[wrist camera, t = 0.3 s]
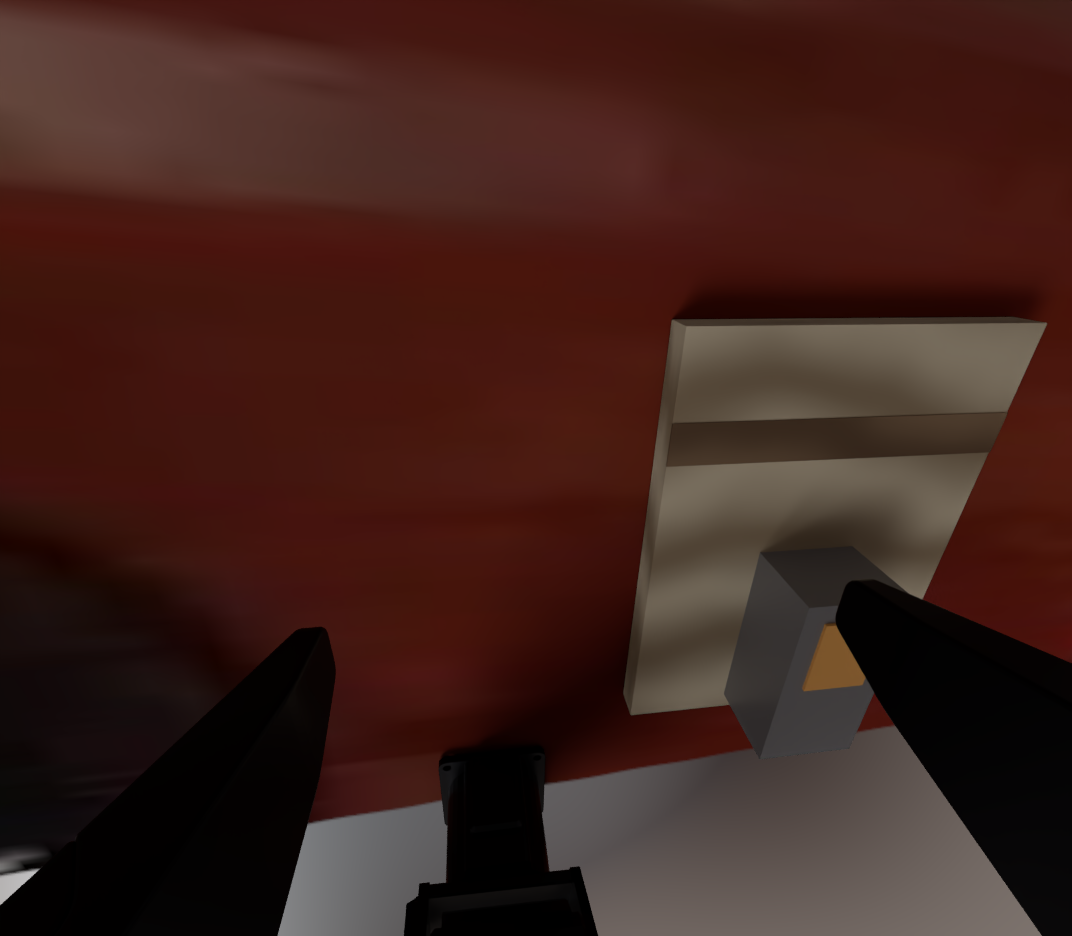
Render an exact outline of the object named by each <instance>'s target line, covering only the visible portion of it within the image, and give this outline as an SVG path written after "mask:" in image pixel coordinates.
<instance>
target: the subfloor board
mask: <svg viewBox="0 0 1072 936" xmlns="http://www.w3.org/2000/svg"><path fill="white" fill-rule="evenodd" d="M1046 325H1047V323H1045V322H1039V321H1034V320H1028V319H1022V318H1017V317H926V318H797V319H672V324H671V331H670V339H669V347H668V354H667V362H666V370H665V377H664V385H663V393H662V400H661V408H660V416H659V423H658V431H657V439H656V446H655V454H654V461H653V469H652V477H651V484H650V492H649V500H648V507H647V515H646V523H645V530H644V538H643V546H642V553H641V561H640V569H639V576H638V584H637V592H636V599H635V607H634V615H633V622H632V630H631V637H630V645H629V653H628V660H627V668H626V676H625V683H624V691H623V694H624V697H625V700H626V703H627V706H628V709H629V712H630V715H637V714H647V713H656V712H666V711H675V710H684V709H694V708H703V707H712V706H722V705H730V704H729V703H728V701H727V699H726V697H725V695H724V691H725V687H726V683H727V679H728V675H729V671H730V667H731V663H732V659H733V656H734V652H735V648H736V644H737V640H738V636H739V632H740V628H741V624H742V621H743V617H744V613H745V609H746V605H747V601H748V597H749V593H750V589H751V585H752V582H753V578H754V574H755V570H756V566H757V562H758V558H759V554H760V552H774V551H789V550H804V549H818V548H833V547H848V546H853V547H854V548H855V549H856V550H858V551H859V552H860V553H861V554H862V555H864V556H865V557H866V558H867V559H868V560H869V561H871V562H872V563H873V564H874V565H875V566H877V567H878V568H879V569H880V570H881V571H883V572H884V573H885V574H886V575H887V576H889V577H890V578H891V579H892V580H893V581H894V582H896V583H897V584H898V585H899V586H900V587H902V588H903V589H904V590H905V591H906V592H908V593H909V594H911V595H913V596H915V597H918V598H920V599H923V597H924V594H925V592H926V590H927V588H928V585H929V583H930V581H931V579H932V577H933V574H934V572H935V570H936V568H937V566H938V563H939V561H940V559H941V557H942V555H943V552H944V550H945V548H946V546H947V543H948V541H949V539H950V537H951V535H952V532H953V530H954V528H955V526H956V524H957V521H958V519H959V517H960V515H961V513H962V510H963V508H964V506H965V504H966V501H967V499H968V497H969V495H970V493H971V490H972V488H973V486H974V484H975V482H976V479H977V477H978V475H979V473H980V471H981V468H982V466H983V464H984V462H985V459H986V457H987V455H988V453H989V452H990V451H991V449H992V447H993V444H994V442H995V440H996V438H997V436H998V433H999V431H1000V429H1001V427H1002V425H1003V422H1004V420H1005V418H1006V416H1007V414H1008V413H1007V411H1008V409H1009V406H1010V404H1011V402H1012V400H1013V398H1014V395H1015V393H1016V391H1017V389H1018V387H1019V384H1020V382H1021V380H1022V378H1023V375H1024V373H1025V371H1026V369H1027V367H1028V364H1029V362H1030V360H1031V358H1032V356H1033V353H1034V351H1035V349H1036V347H1037V344H1038V342H1039V340H1040V338H1041V336H1042V333H1043V331H1044V329H1045V327H1046Z"/></svg>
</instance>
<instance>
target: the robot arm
mask: <svg viewBox="0 0 1072 936" xmlns="http://www.w3.org/2000/svg"><path fill="white" fill-rule="evenodd" d="M835 621H836V626H837V629H838V631H839V632H840V634H841V636H842V638H843V639H844V641H845V643H846V645H847V646H848V648H849V650H850V651H851V653H852V655H853V657H854V658H855V660H856V662H857V664H858V665H859V667H860V669H861V671H862V672H863V674H864V676H865V677H866V679H867V681H868V683H869V684H870V686H871V688H872V690H873V691H874V693H875V695H876V697H877V698H878V700H879V701H880V703H881V705H882V706H883V708H884V710H885V711H886V713H887V714H888V716H889V717H890V719H891V720H892V722H893V723H894V725H895V726H896V727H897V729H898V730H899V732H900V733H901V735H902V736H903V737H904V739H905V740H906V742H907V743H908V745H909V746H910V747H911V749H912V750H913V752H914V753H915V754H916V756H917V757H918V759H919V760H920V762H921V763H922V765H923V766H924V767H925V769H926V770H927V772H928V773H929V775H930V776H931V778H932V779H933V780H934V782H935V783H936V785H937V786H938V788H939V789H940V790H941V792H942V793H943V795H944V796H945V797H946V799H947V800H948V802H949V803H950V805H951V806H952V807H953V809H954V810H955V812H956V813H957V815H958V816H959V818H960V819H961V820H962V822H963V823H964V825H965V826H966V828H967V829H968V830H969V832H970V833H971V835H972V836H973V838H974V839H975V841H976V842H977V843H978V845H979V846H980V847H981V849H982V851H983V852H984V853H985V855H986V856H987V858H988V859H989V861H990V862H991V863H992V865H993V866H994V868H995V869H996V871H997V872H998V874H999V875H1000V876H1001V878H1002V879H1003V881H1004V882H1005V883H1006V885H1007V886H1008V888H1009V889H1010V891H1011V892H1012V894H1013V895H1014V896H1015V898H1016V899H1017V901H1018V902H1019V904H1020V905H1021V906H1022V908H1023V909H1024V911H1025V912H1026V913H1027V915H1028V916H1029V918H1030V919H1031V921H1032V922H1033V923H1034V925H1035V927H1036V928H1037V929H1038V931H1039V932H1040V934H1041V935H1042V936H1072V663H1070V662H1067V661H1065V660H1063V659H1060V658H1058V657H1056V656H1053V655H1051V654H1049V653H1046V652H1044V651H1042V650H1039V649H1037V648H1035V647H1032V646H1030V645H1028V644H1025V643H1023V642H1021V641H1018V640H1016V639H1014V638H1011V637H1009V636H1007V635H1004V634H1002V633H999V632H997V631H995V630H992V629H990V628H988V627H985V626H983V625H981V624H978V623H976V622H974V621H971V620H969V619H967V618H964V617H962V616H960V615H957V614H955V613H953V612H950V611H948V610H946V609H943V608H941V607H939V606H936V605H934V604H932V603H929V602H927V601H925V600H922V599H920V598H918V597H915V596H913V595H911V594H908V593H906V592H904V591H901V590H899V589H897V588H894V587H892V586H890V585H887V584H885V583H883V582H880V581H878V580H875V579H857V580H851V581H849V582H848V583H847V584H846V585H845V587H844V590H843V593H842V596H841V599H840V602H839V605H838V608H837V611H836V615H835ZM335 675H336V668H335V662H334V657H333V653H332V649H331V644H330V640H329V636H328V632H327V631H326V629H325V628H323V627H312V628H301V629H298V630H296V631H295V632H294V633H292V634H291V635H290V636H289V637H288V638H287V639H286V640H285V641H284V642H283V643H282V644H281V645H280V646H279V647H277V648H276V649H275V650H274V651H273V652H272V653H271V654H270V655H269V656H268V657H267V658H266V659H265V660H264V661H262V662H261V663H260V664H259V665H258V666H257V667H256V668H255V669H254V670H253V671H252V672H251V673H250V674H249V675H248V676H246V677H245V678H244V679H243V680H242V681H241V682H240V683H239V684H238V685H237V686H236V687H235V688H234V689H233V690H231V691H230V692H229V693H228V694H227V695H226V696H225V697H224V698H223V699H222V700H221V701H220V702H219V703H218V704H216V705H215V706H214V707H213V708H212V709H211V710H210V711H209V712H208V713H207V714H206V715H205V716H204V717H203V718H201V719H200V720H199V721H198V722H197V723H196V724H195V725H194V726H193V727H192V728H191V729H190V730H189V731H188V732H187V733H185V734H184V735H183V736H182V737H181V738H180V739H179V740H178V741H177V742H176V743H175V744H174V745H173V746H172V747H170V748H169V749H168V750H167V751H166V752H165V753H164V754H163V755H162V756H161V757H160V758H159V759H158V760H157V761H155V762H154V763H153V764H152V765H151V766H150V767H149V768H148V769H147V770H146V771H145V772H144V773H143V774H142V775H140V776H139V777H138V778H137V779H136V780H135V781H134V782H133V783H132V784H131V785H130V786H129V787H128V788H127V789H126V790H124V791H123V792H122V793H121V794H120V795H119V796H118V797H117V798H116V799H115V800H114V801H113V802H112V803H111V804H109V805H108V806H107V807H106V808H105V809H104V810H103V811H102V812H101V813H100V814H99V815H98V816H97V817H96V818H94V819H93V820H92V821H91V822H90V823H89V824H88V825H87V826H86V827H85V828H84V829H83V830H82V831H81V832H79V833H78V835H77V836H76V842H75V841H71V842H69V843H67V844H66V845H65V846H64V847H63V848H62V849H61V850H60V851H59V852H58V853H57V854H56V855H55V856H53V857H52V858H51V859H50V860H49V861H48V862H47V863H46V864H45V865H44V866H43V867H42V868H41V869H40V870H38V871H37V872H36V873H35V874H34V875H33V876H32V877H31V878H30V879H29V880H28V881H27V882H25V884H23V885H22V886H21V887H20V888H19V889H18V890H17V891H16V892H14V893H13V894H12V895H11V896H10V897H9V898H8V899H7V900H6V901H4V902H3V904H1V905H0V936H277V935H278V931H279V928H280V924H281V920H282V917H283V913H284V909H285V905H286V901H287V898H288V894H289V891H290V887H291V883H292V879H293V876H294V872H295V868H296V865H297V861H298V857H299V853H300V850H301V846H302V842H303V839H304V835H305V831H306V827H307V824H308V820H309V816H310V813H311V809H312V805H313V801H314V798H315V794H316V790H317V786H318V782H319V777H320V772H321V766H322V761H323V754H324V748H325V741H326V735H327V729H328V722H329V716H330V709H331V703H332V697H333V690H334V684H335ZM439 776H440V785H441V794H442V803H443V812H444V820H445V824H446V825H447V826H448V827H447V864H446V883H439V884H430V883H429V882H428V883H420V884H419V894H418V896H417V897H416V898H415V899H414V900H412V901H410V902H409V903H407V905H406V918H405V929H404V936H598V934H597V930H596V926H595V922H594V919H593V915H592V911H591V907H590V903H589V900H588V896H587V892H586V888H585V885H584V881H583V877H582V874H581V869H580V867H579V866H578V867H570V869H569V870H561V871H552V872H550V871H549V864H548V856H547V849H546V841H545V834H544V826H543V818H542V812H543V805H544V778H545V752H544V749H543V748H542V747H529V748H520V749H511V750H502V751H493V752H484V753H475V754H467V755H458V756H449V757H444V758H442V759H441V760H440V761H439Z"/></svg>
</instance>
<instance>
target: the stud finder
mask: <svg viewBox="0 0 1072 936" xmlns="http://www.w3.org/2000/svg"><path fill="white" fill-rule="evenodd" d="M857 579H875V580H878V581H880V582H883V583H885V584H887V585H890V586H892V587H894V588H897V589H899V590H901V591H904V592H906V591H905V590H904V589H903V588H902V587H900V586H899V585H898V584H897V583H896V582H894V581H893V580H892V579H891V578H890V577H889V576H887V575H886V574H885V573H884V572H883V571H881V570H880V569H879V568H878V567H877V566H875V565H874V564H873V563H872V562H871V561H869V560H868V559H867V558H866V557H865V556H864V555H862V554H861V553H860V552H859V551H858V550H856V549H855V548H854V547H853V546H848V547H833V548H818V549H804V550H789V551H774V552H760V554H759V558H758V562H757V566H756V570H755V574H754V578H753V582H752V585H751V589H750V593H749V597H748V601H747V605H746V609H745V613H744V617H743V621H742V624H741V628H740V632H739V636H738V640H737V644H736V648H735V652H734V656H733V659H732V663H731V667H730V671H729V675H728V679H727V683H726V687H725V691H724V695H725V697H726V699H727V701H728V703H729V704H730V706H731V708H732V710H733V712H734V714H735V715H736V717H737V719H738V721H739V723H740V724H741V726H742V728H743V730H744V732H745V734H746V735H747V737H748V739H749V741H750V743H751V745H752V746H753V748H754V750H755V752H756V754H757V755H758V757H759V759H766V758H775V757H783V756H791V755H799V754H808V753H815V752H824V751H832V750H841V749H849V748H850V745H851V743H852V741H853V738H854V736H855V734H856V732H857V730H858V727H859V725H860V723H861V721H862V718H863V716H864V714H865V712H866V709H867V707H868V705H869V703H870V700H871V698H872V696H873V694H874V691H873V690H872V688H871V686H870V684H869V683H868V681H867V679H866V677H865V676H864V674H863V672H862V671H861V669H860V667H859V665H858V664H857V662H856V660H855V658H854V657H853V655H852V653H851V651H850V650H849V648H848V646H847V645H846V643H845V641H844V639H843V638H842V636H841V634H840V632H839V631H838V629H837V626H836V621H835V615H836V611H837V608H838V605H839V602H840V599H841V596H842V593H843V590H844V587H845V585H846V584H847V583H848V582H849V581H851V580H857ZM906 593H908V592H906ZM908 594H909V593H908Z"/></svg>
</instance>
